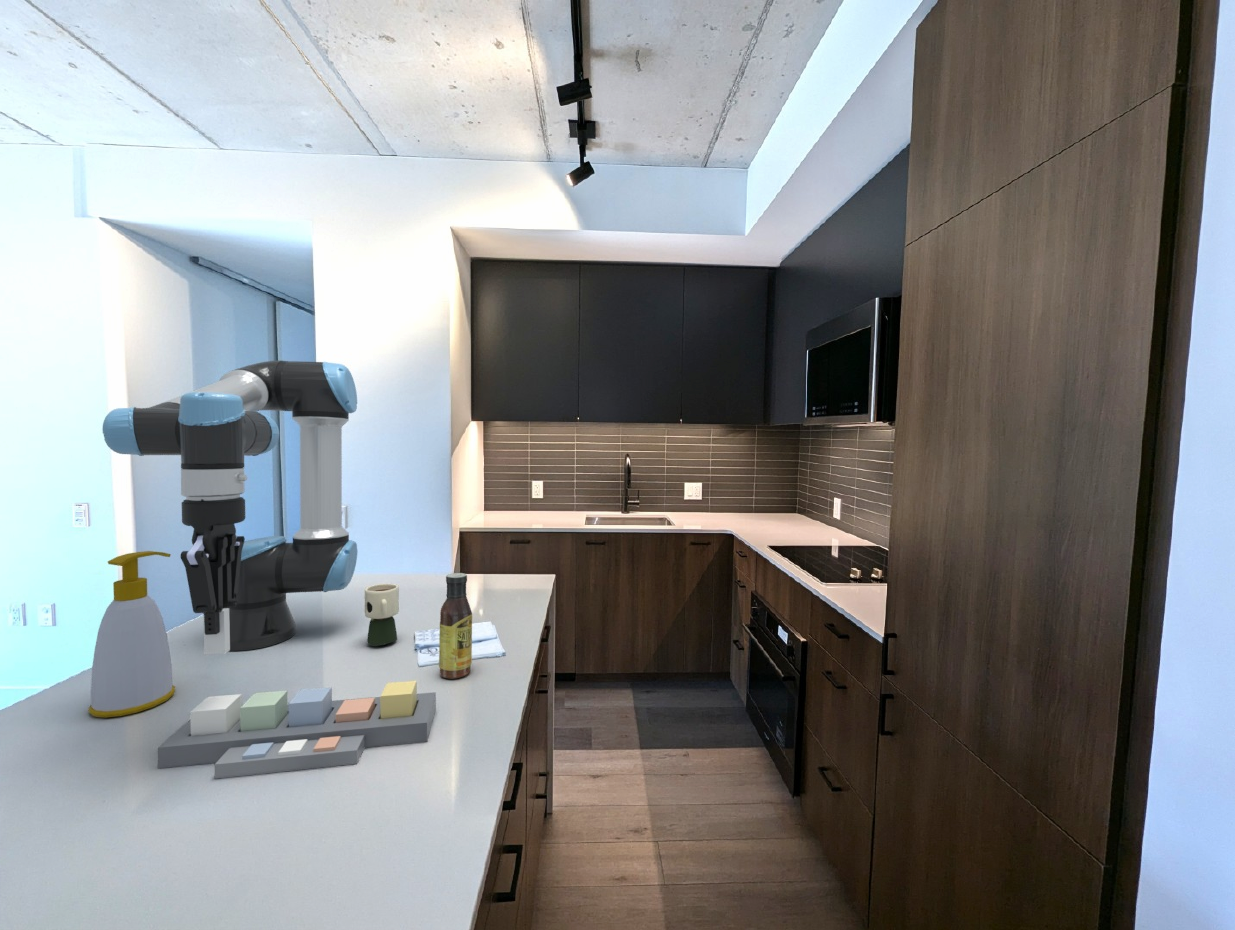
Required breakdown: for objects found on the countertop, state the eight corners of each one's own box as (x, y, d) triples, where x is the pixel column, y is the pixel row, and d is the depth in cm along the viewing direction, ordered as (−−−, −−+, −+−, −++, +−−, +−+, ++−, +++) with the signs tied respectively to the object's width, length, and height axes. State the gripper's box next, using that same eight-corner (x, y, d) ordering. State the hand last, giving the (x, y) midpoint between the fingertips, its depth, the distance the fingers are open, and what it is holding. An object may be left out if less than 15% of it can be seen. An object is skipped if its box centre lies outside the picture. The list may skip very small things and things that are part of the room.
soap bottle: (192, 693, 95) (189, 550, 94) (114, 725, 84) (109, 564, 83) (152, 683, 99) (148, 546, 98) (72, 712, 88) (67, 558, 87)
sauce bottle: (462, 682, 101) (462, 580, 100) (432, 678, 102) (432, 578, 101) (477, 667, 107) (477, 572, 106) (449, 664, 108) (449, 570, 108)
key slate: (300, 714, 84) (300, 689, 83) (332, 711, 85) (331, 687, 84) (288, 729, 79) (288, 703, 79) (322, 726, 80) (321, 701, 80)
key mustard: (387, 706, 86) (387, 682, 86) (416, 704, 87) (416, 680, 87) (380, 721, 82) (380, 696, 82) (411, 718, 83) (411, 693, 83)
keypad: (199, 730, 83) (198, 711, 83) (435, 709, 91) (435, 692, 90) (138, 786, 69) (137, 764, 69) (422, 756, 77) (422, 736, 77)
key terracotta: (344, 724, 85) (344, 700, 85) (375, 721, 86) (374, 697, 86) (335, 739, 81) (335, 714, 80) (367, 736, 81) (367, 711, 81)
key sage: (255, 717, 82) (254, 693, 82) (287, 715, 83) (287, 690, 83) (240, 733, 78) (240, 707, 78) (275, 730, 79) (274, 704, 79)
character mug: (363, 638, 122) (362, 583, 122) (396, 633, 126) (395, 579, 125) (367, 654, 113) (366, 595, 112) (402, 648, 117) (401, 591, 116)
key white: (208, 721, 81) (207, 696, 81) (241, 719, 82) (241, 694, 82) (190, 738, 76) (190, 711, 76) (226, 735, 77) (225, 708, 77)
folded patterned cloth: (494, 627, 132) (494, 619, 132) (506, 659, 113) (506, 649, 113) (413, 636, 125) (413, 628, 125) (412, 671, 106) (412, 661, 106)
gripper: (219, 501, 72) (222, 668, 73) (262, 492, 85) (264, 635, 86) (156, 502, 71) (160, 673, 72) (209, 493, 83) (212, 638, 84)
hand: (217, 652), depth 79 cm, fingers closed
